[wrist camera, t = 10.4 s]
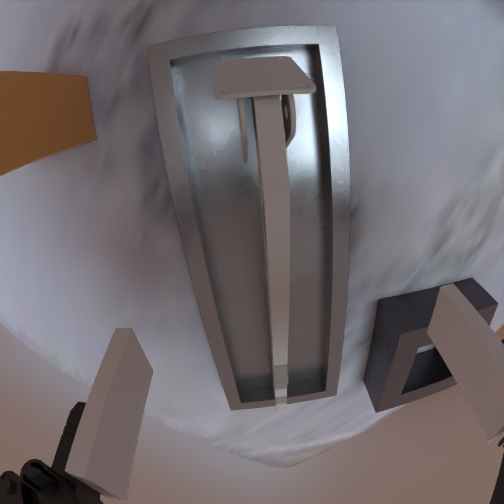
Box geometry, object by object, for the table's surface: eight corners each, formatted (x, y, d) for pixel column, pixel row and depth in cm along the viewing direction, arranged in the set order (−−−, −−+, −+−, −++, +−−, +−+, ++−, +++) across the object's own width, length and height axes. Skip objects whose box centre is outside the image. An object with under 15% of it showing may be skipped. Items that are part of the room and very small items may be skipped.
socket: (378, 299, 21) (400, 334, 17) (472, 277, 21) (498, 303, 17) (363, 380, 26) (375, 412, 22) (445, 356, 25) (461, 381, 22)
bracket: (288, 55, 11) (394, 194, 5) (284, 302, 28) (300, 408, 21) (216, 60, 11) (207, 211, 5) (250, 306, 28) (261, 413, 21)
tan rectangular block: (36, 99, 13) (-86, 121, 4) (86, 77, 13) (-40, 72, 4) (46, 156, 15) (-70, 213, 6) (96, 139, 15) (-25, 186, 6)
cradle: (158, 54, 13) (146, 46, 11) (322, 36, 13) (335, 26, 11) (230, 389, 25) (230, 410, 23) (330, 375, 25) (336, 395, 23)
